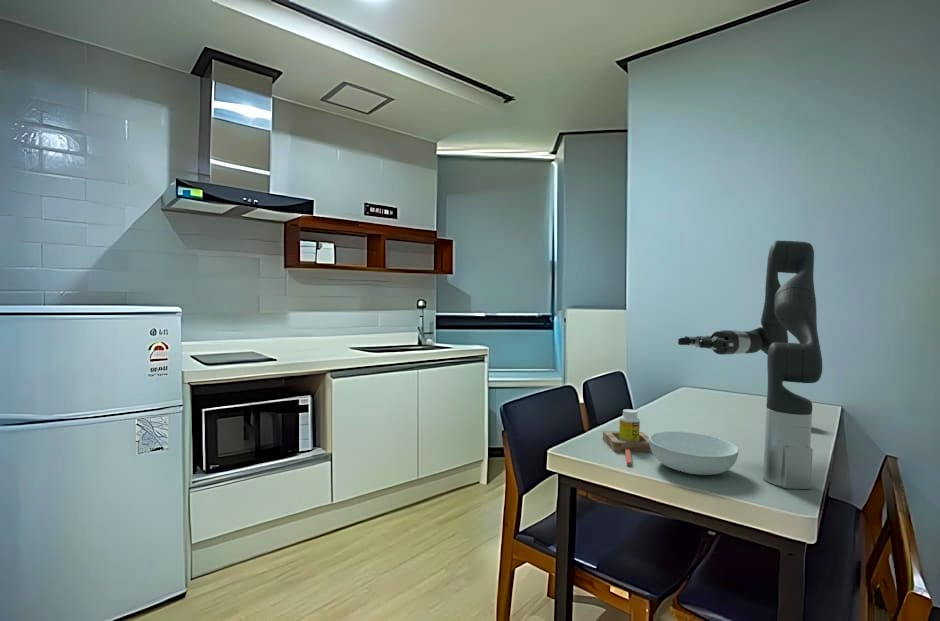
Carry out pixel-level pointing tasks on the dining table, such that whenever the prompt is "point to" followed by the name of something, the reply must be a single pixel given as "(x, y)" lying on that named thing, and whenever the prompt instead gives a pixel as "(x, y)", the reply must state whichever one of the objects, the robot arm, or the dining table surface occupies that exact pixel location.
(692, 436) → the serving bowl
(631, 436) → the supplement bottle
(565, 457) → the dining table surface
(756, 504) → the dining table surface
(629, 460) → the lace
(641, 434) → the brown wooden square frame
